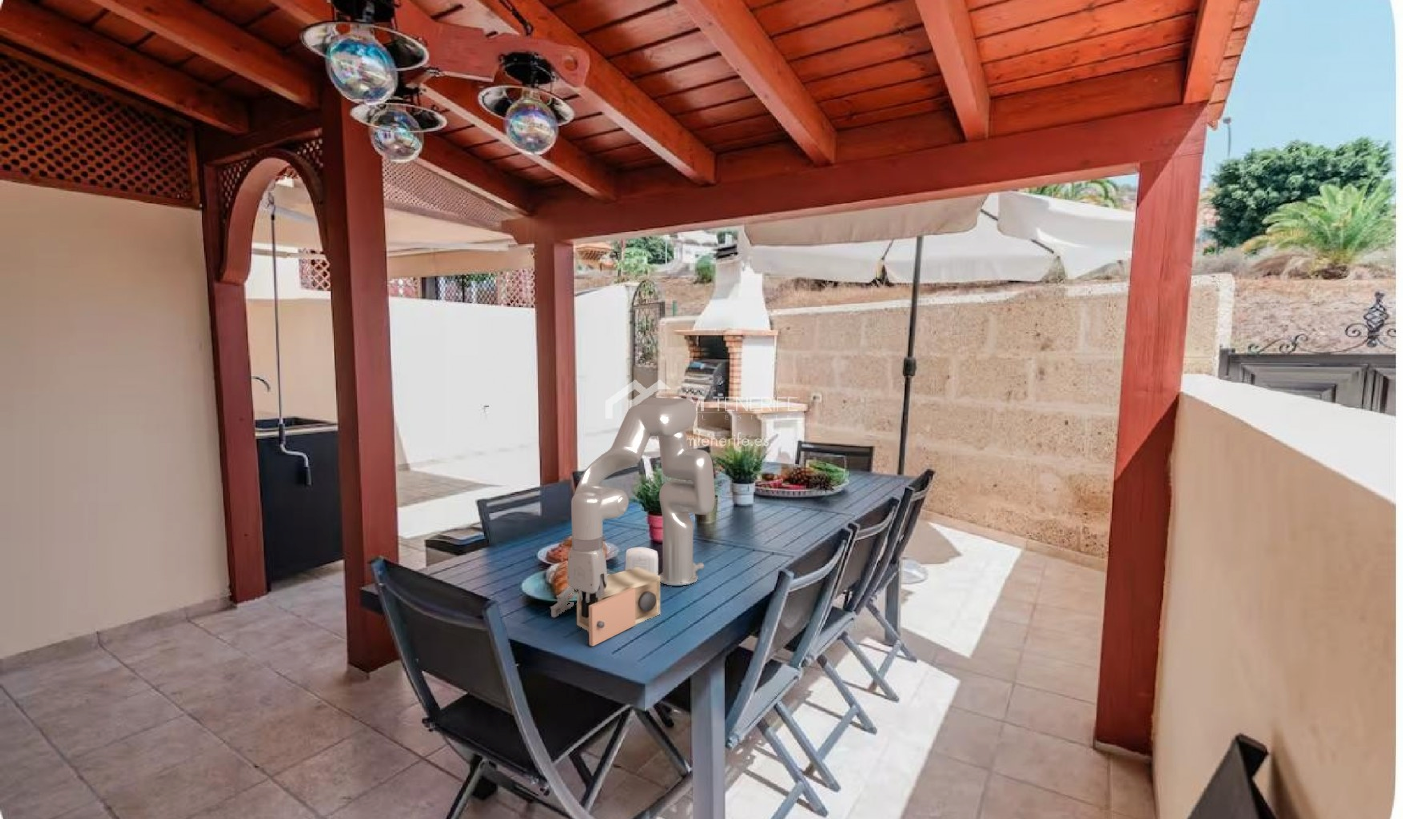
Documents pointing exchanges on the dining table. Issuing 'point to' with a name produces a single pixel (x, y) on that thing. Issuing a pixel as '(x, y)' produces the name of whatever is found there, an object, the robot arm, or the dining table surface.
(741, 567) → the dining table surface
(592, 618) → the door
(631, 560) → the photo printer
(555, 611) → the garden wall model
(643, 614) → the wooden cabinet
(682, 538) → the robot arm
